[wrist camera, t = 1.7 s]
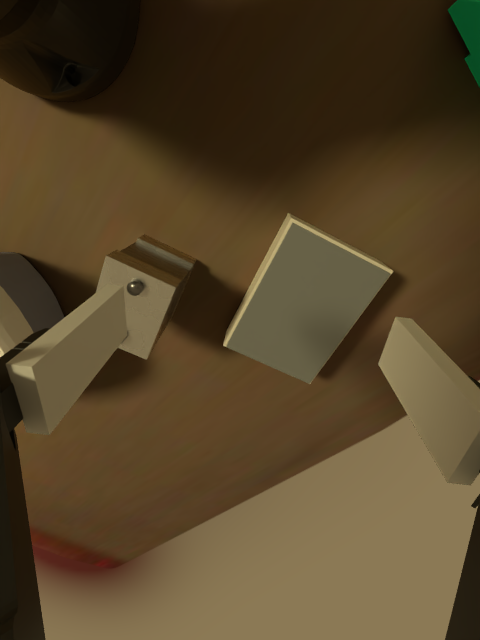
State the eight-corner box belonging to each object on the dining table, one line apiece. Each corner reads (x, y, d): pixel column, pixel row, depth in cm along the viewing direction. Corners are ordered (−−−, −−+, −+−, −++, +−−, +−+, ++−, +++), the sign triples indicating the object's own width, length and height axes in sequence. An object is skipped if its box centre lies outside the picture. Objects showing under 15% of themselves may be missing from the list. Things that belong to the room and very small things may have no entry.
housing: (124, 296, 36) (80, 336, 27) (144, 234, 33) (102, 257, 24) (172, 318, 37) (144, 363, 28) (196, 259, 33) (174, 290, 25)
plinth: (226, 330, 37) (222, 348, 33) (288, 212, 31) (291, 218, 27) (305, 366, 38) (310, 386, 35) (380, 261, 32) (395, 272, 29)
